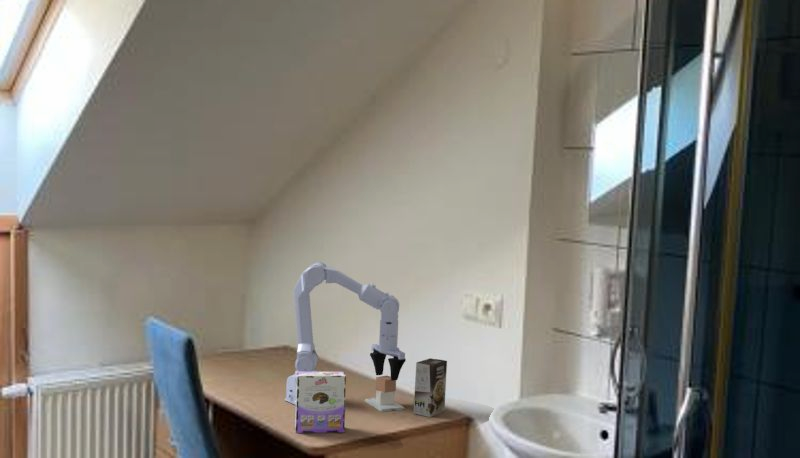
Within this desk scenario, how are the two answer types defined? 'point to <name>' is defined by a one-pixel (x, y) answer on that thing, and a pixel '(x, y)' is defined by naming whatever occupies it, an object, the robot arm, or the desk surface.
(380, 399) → the cream block
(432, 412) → the coffee box
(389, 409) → the hard drive
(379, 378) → the brown block
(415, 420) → the desk surface
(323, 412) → the candy box
